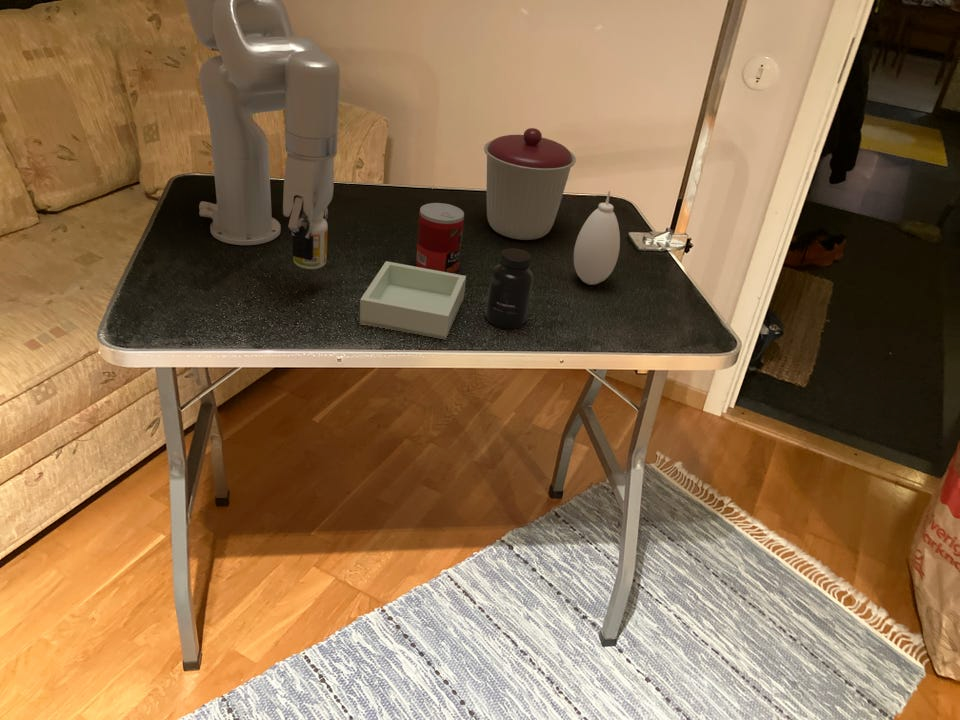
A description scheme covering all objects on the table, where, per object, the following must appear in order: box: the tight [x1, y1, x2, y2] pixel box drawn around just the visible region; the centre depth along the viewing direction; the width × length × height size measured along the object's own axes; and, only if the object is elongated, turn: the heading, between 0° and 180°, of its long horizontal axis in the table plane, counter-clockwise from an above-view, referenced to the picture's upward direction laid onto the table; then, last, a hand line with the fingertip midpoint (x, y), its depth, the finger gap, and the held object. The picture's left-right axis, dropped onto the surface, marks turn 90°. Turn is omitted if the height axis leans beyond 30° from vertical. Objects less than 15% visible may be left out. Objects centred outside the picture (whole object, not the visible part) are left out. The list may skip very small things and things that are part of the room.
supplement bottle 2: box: [485, 247, 534, 330], centre depth 121 cm, size 7×7×12 cm
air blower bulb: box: [573, 190, 621, 286], centre depth 134 cm, size 8×8×18 cm
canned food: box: [415, 202, 465, 274], centre depth 134 cm, size 8×8×11 cm
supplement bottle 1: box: [292, 210, 329, 270], centre depth 120 cm, size 5×5×10 cm
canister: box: [483, 127, 577, 241], centre depth 149 cm, size 18×18×21 cm
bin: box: [359, 260, 467, 341], centre depth 122 cm, size 14×14×4 cm
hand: (310, 247), depth 122 cm, fingers closed on supplement bottle 1, 5 cm apart
